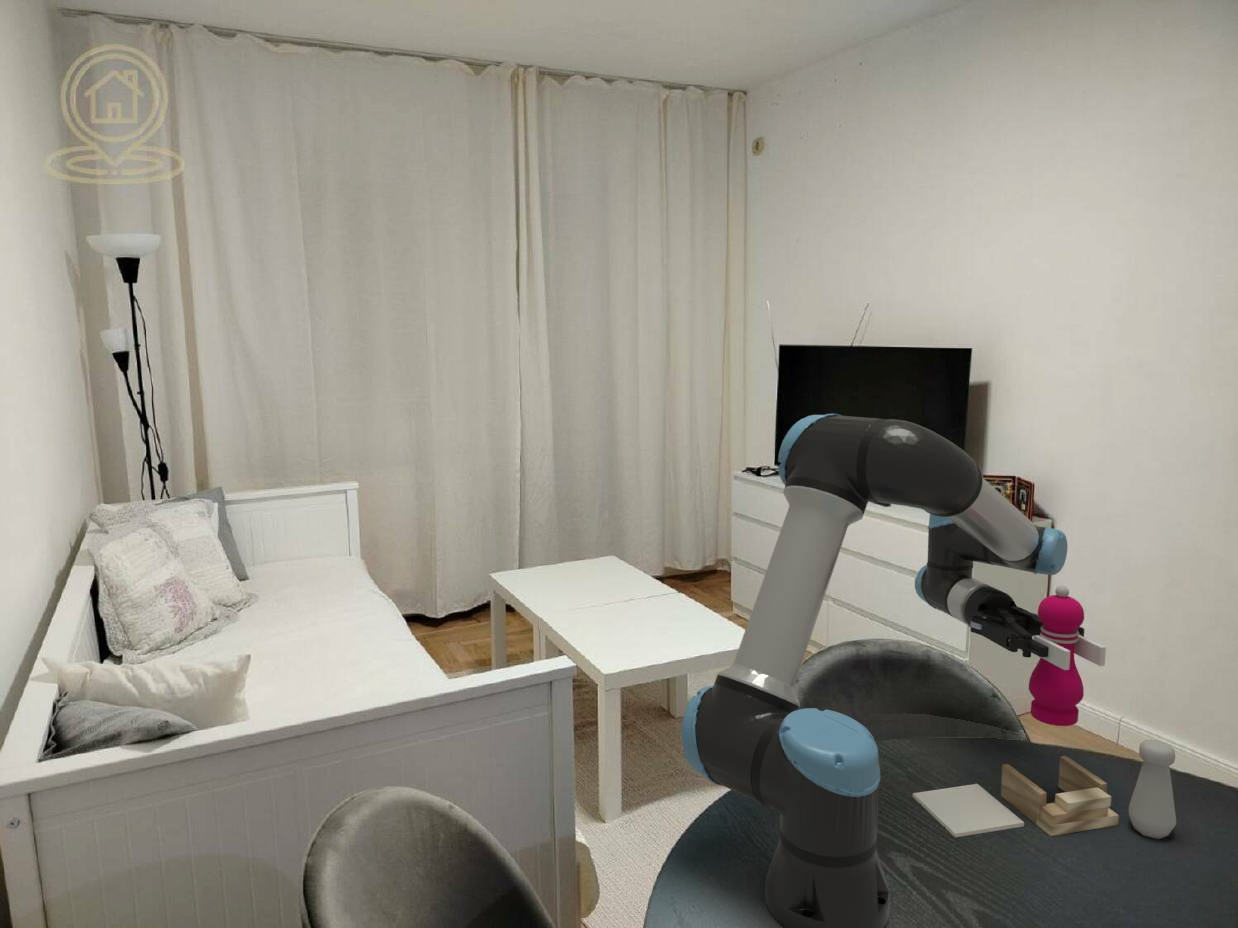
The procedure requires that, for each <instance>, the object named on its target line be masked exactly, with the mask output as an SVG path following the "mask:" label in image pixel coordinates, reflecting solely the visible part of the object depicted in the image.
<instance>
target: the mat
mask: <svg viewBox="0 0 1238 928" xmlns="http://www.w3.org/2000/svg"><path fill="white" fill-rule="evenodd" d="M912 798H913V799H914V800H915V801H916V802H917V803H918V804H919V805H920V804H921V805H920V806H922V808H924V810H926V811H927V813H929V814H930V815H931V816H932V817H933V818H934V819H935V820H936V821H937V822H938V823H939V824H940V825H941V826H943V828H944V827H945V828H944V829H945V830H947V831H948V832H949V833H950V834H951V836H953V837H954V838H959V837H966V836H973V835H979V834H985V833H992V832H999V831H1003V830H1005V831H1006V830H1010V829H1016V828H1022V827H1023V828H1024V827H1025V822H1024V821H1023V820H1022V819H1021V818H1020V817H1018V816H1017V815H1016V814H1015V813H1013V812H1012V811H1011V810H1010V809H1009V808H1007V807H1006V805H1003V803H1001V802H1000V801H999V800H998V799H996V798H995V797H994V796H993V795H991V794H990V793H989V792H988V791H987V790H985V789H984V788H983V787H982V786H981V785H980V784H978V783H974V784H966V785H965V784H964V785H960V786H953V787H952V786H951V787H948V788H947V787H945V788H940V789H932V790H925V791H920V792H919V791H918V792H912Z"/></svg>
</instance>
